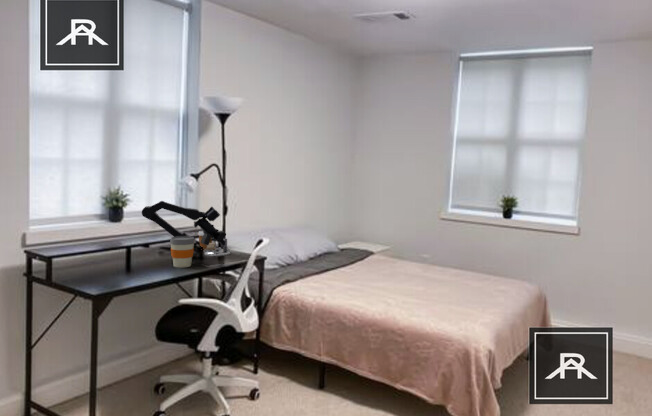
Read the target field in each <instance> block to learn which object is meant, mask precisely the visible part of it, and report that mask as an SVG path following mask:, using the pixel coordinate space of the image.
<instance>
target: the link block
mask: <svg viewBox="0 0 652 416" xmlns="http://www.w3.org/2000/svg"><path fill="white" fill-rule="evenodd" d="M215 248H216V242H212V243H209V245H207V250H215Z"/></svg>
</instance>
